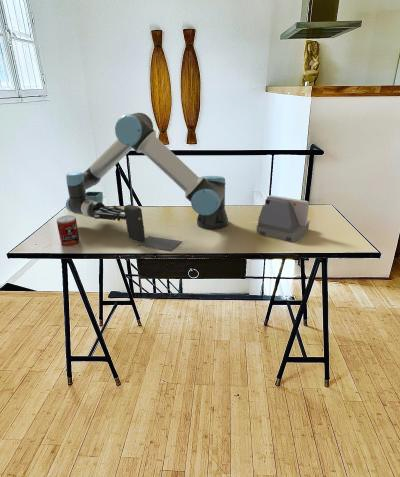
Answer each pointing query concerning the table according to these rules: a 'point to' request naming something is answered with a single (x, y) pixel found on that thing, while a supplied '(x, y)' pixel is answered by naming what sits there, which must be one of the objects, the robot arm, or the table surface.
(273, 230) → the grey tapered box
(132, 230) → the card reader
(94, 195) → the flower pot
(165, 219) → the table surface
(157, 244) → the mat
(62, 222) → the canned food
